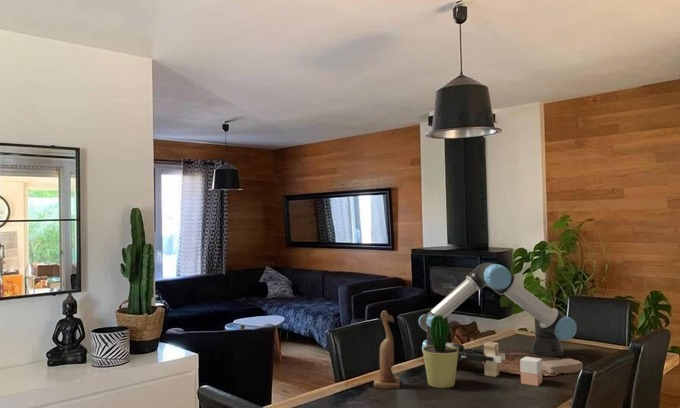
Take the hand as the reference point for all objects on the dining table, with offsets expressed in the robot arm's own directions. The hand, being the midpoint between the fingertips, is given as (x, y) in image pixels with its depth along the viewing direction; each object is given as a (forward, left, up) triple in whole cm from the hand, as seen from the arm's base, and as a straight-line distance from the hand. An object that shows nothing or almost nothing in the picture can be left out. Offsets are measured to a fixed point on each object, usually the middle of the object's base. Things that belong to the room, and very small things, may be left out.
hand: (502, 358), depth 230 cm
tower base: (+2, +13, -8) cm, 15 cm away
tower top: (+2, +13, -3) cm, 13 cm away
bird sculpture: (+38, -38, -8) cm, 55 cm away
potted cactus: (+24, -19, -8) cm, 32 cm away
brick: (-23, +20, -9) cm, 31 cm away
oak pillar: (0, -5, -8) cm, 10 cm away
